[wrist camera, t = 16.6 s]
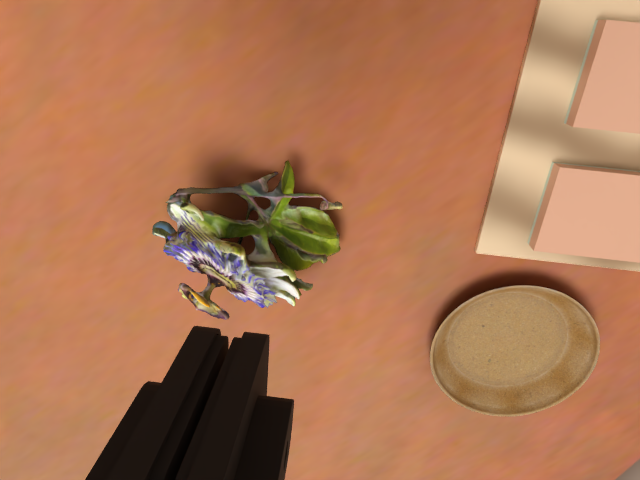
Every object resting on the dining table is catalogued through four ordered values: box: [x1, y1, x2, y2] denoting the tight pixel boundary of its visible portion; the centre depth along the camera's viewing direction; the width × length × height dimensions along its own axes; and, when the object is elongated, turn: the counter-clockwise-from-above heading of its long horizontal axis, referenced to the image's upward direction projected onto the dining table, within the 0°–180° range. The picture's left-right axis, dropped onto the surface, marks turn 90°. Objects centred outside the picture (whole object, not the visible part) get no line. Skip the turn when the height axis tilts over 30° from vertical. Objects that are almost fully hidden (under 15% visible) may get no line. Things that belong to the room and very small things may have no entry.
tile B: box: [527, 162, 640, 263], centre depth 36 cm, size 7×2×9 cm
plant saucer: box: [430, 285, 600, 416], centre depth 43 cm, size 15×15×3 cm
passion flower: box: [153, 161, 343, 320], centre depth 37 cm, size 13×12×14 cm
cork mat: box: [475, 0, 640, 272], centre depth 35 cm, size 20×14×1 cm
